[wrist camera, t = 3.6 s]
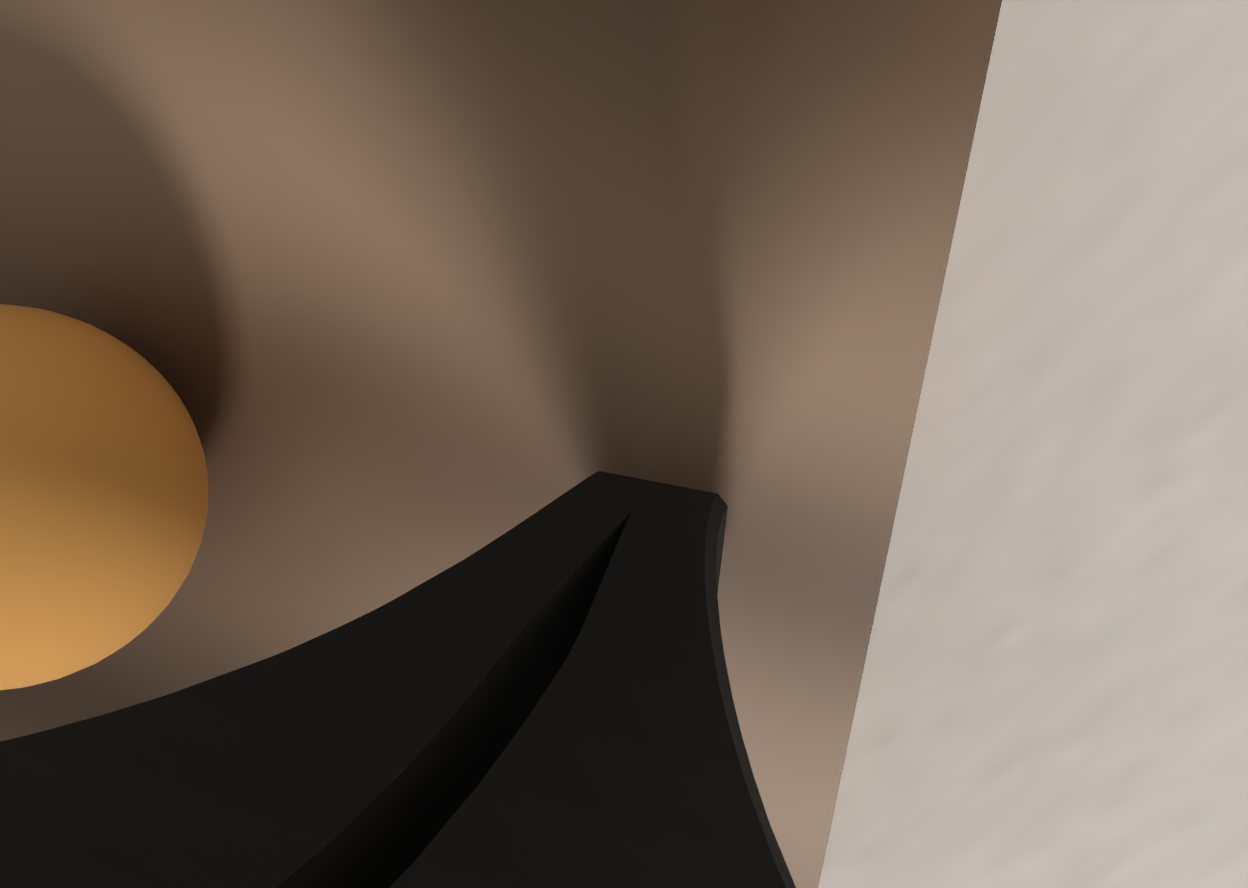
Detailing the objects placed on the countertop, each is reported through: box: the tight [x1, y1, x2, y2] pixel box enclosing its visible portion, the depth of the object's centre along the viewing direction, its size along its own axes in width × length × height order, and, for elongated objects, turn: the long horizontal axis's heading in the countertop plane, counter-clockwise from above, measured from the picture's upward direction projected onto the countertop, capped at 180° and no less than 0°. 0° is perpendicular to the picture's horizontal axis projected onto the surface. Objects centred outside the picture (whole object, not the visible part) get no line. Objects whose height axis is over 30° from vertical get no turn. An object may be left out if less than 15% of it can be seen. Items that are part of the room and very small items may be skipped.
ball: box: [0, 304, 209, 690], centre depth 11 cm, size 4×4×4 cm
